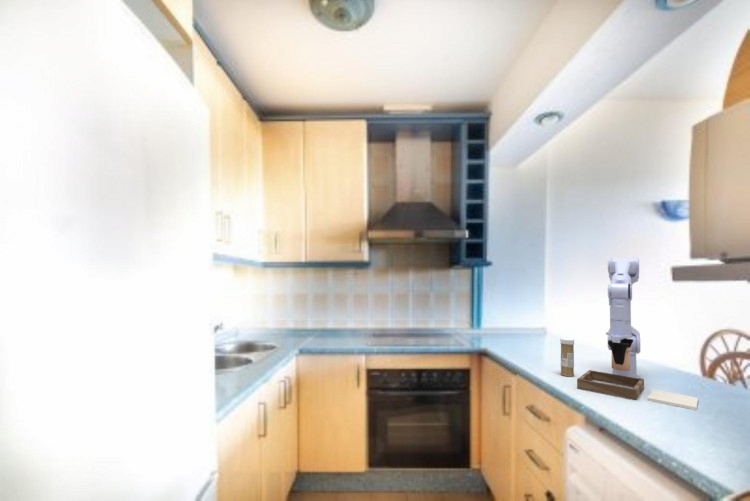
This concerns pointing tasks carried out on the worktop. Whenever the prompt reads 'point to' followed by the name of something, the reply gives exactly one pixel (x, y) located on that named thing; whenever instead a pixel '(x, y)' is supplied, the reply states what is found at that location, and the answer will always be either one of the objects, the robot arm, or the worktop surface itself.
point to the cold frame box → (623, 392)
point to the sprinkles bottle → (567, 356)
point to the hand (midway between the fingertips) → (621, 362)
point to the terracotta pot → (626, 362)
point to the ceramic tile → (673, 399)
